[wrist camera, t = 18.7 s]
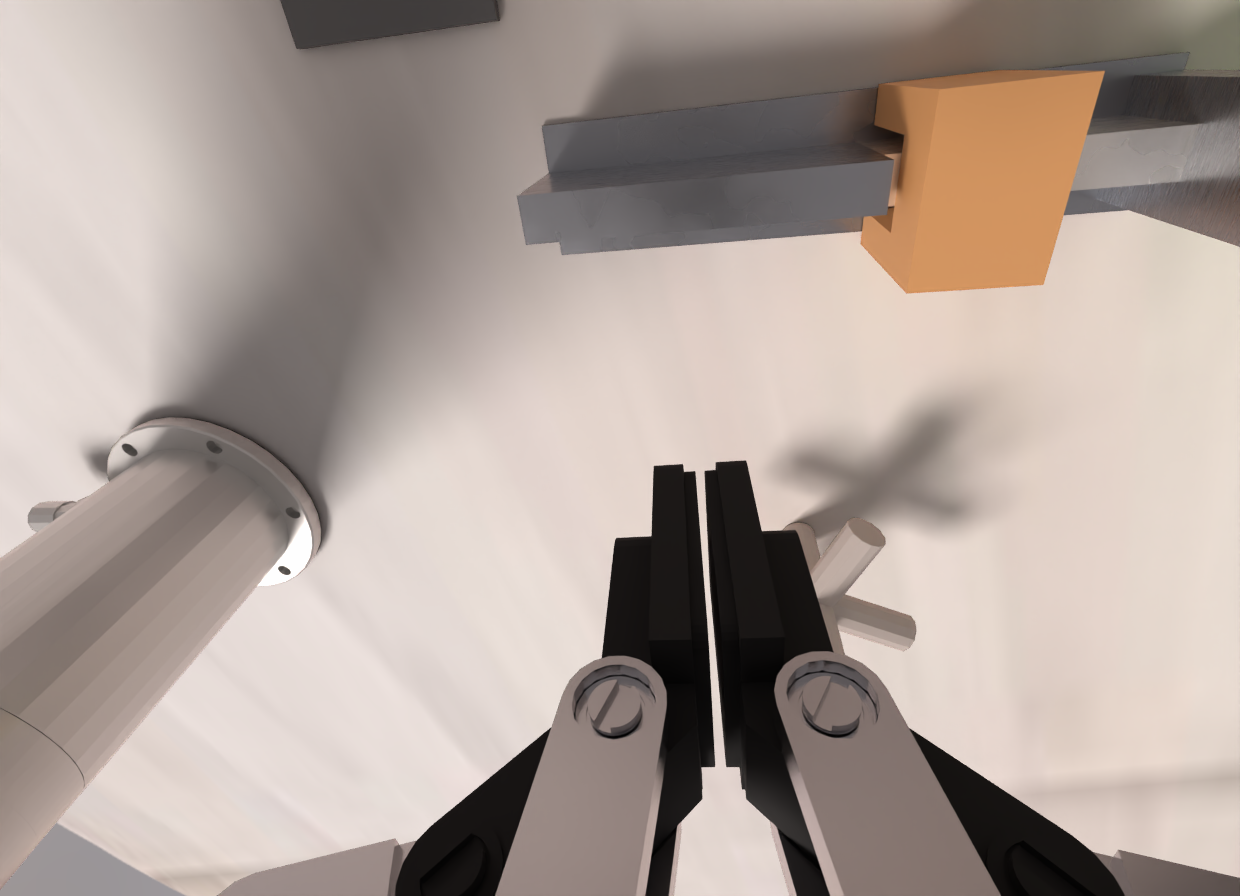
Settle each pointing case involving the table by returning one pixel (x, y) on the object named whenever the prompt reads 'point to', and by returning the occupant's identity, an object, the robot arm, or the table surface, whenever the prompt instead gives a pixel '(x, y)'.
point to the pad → (378, 18)
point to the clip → (980, 176)
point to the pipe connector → (838, 576)
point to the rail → (869, 164)
